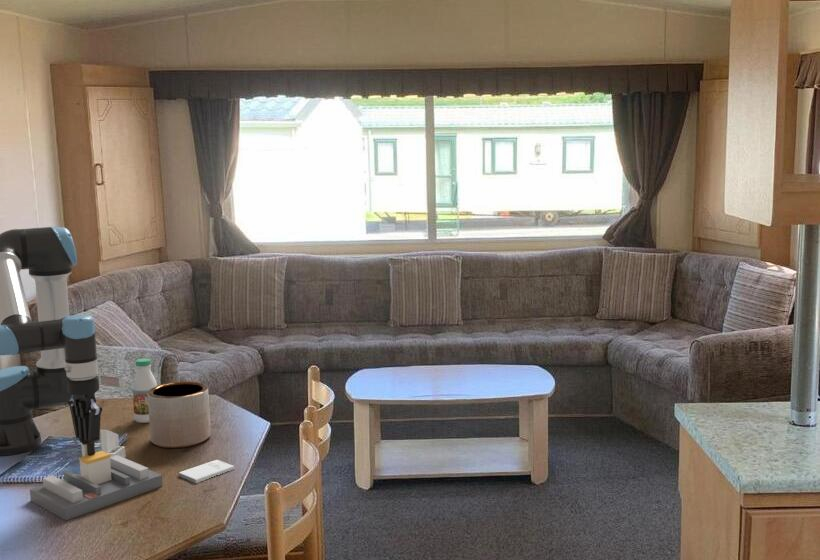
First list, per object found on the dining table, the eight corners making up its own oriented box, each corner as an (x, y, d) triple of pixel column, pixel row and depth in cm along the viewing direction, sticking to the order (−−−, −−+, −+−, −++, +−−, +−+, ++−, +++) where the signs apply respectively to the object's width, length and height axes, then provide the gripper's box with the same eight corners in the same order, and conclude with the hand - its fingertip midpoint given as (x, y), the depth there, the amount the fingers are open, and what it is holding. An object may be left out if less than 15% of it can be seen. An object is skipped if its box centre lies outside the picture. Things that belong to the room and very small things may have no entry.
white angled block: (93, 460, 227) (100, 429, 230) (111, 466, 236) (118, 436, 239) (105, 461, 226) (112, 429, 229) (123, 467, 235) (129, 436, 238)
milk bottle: (134, 417, 272) (130, 358, 269) (159, 414, 274) (155, 356, 271) (134, 424, 265) (130, 363, 262) (159, 421, 267) (155, 361, 264)
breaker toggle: (80, 483, 210) (78, 457, 209) (103, 475, 214) (101, 450, 213) (89, 487, 207) (87, 461, 206) (112, 479, 212) (110, 454, 211)
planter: (215, 444, 245) (212, 393, 243) (153, 453, 239) (149, 400, 237) (206, 426, 262) (204, 378, 259) (148, 434, 255) (144, 385, 253)
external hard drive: (178, 477, 222) (216, 464, 231) (196, 485, 216) (234, 471, 226) (177, 472, 222) (216, 458, 231) (195, 479, 216) (234, 465, 226)
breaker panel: (30, 500, 207) (28, 480, 206) (125, 469, 227) (123, 450, 226) (66, 520, 196) (64, 498, 195) (162, 486, 215) (161, 466, 214)
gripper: (55, 375, 210) (62, 464, 213) (81, 384, 202) (89, 476, 205) (83, 369, 216) (90, 456, 219) (110, 377, 207) (116, 467, 211)
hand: (89, 466), depth 212 cm, fingers closed
